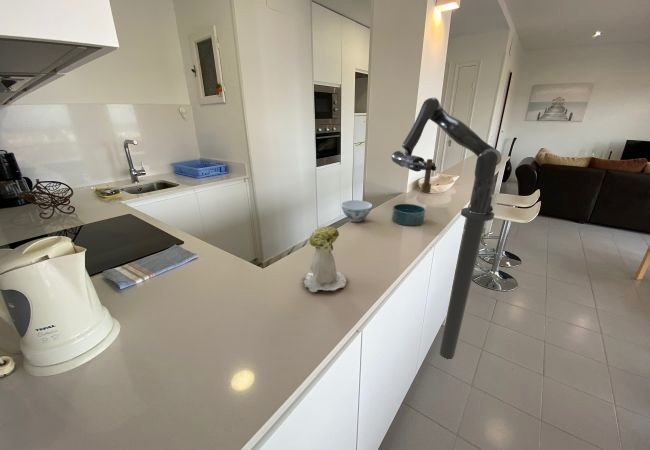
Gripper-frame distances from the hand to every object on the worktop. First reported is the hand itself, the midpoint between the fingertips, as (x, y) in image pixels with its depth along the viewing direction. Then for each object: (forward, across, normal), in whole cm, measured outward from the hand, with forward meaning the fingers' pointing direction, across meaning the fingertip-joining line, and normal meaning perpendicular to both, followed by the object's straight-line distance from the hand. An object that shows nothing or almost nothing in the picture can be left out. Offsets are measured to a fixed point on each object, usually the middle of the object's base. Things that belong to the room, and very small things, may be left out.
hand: (432, 168), depth 132 cm
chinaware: (-5, -35, +25) cm, 44 cm away
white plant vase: (+48, -62, +25) cm, 82 cm away
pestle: (-3, 0, +12) cm, 12 cm away
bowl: (+2, -11, +25) cm, 27 cm away
